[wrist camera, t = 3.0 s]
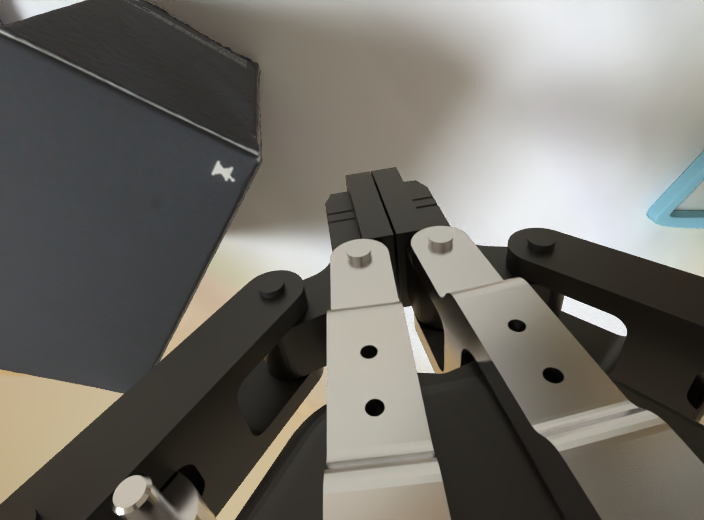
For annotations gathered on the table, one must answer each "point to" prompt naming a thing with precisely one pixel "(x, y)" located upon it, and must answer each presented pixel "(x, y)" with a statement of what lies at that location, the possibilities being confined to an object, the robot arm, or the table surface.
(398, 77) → the table surface
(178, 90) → the small box
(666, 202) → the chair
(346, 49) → the table surface
